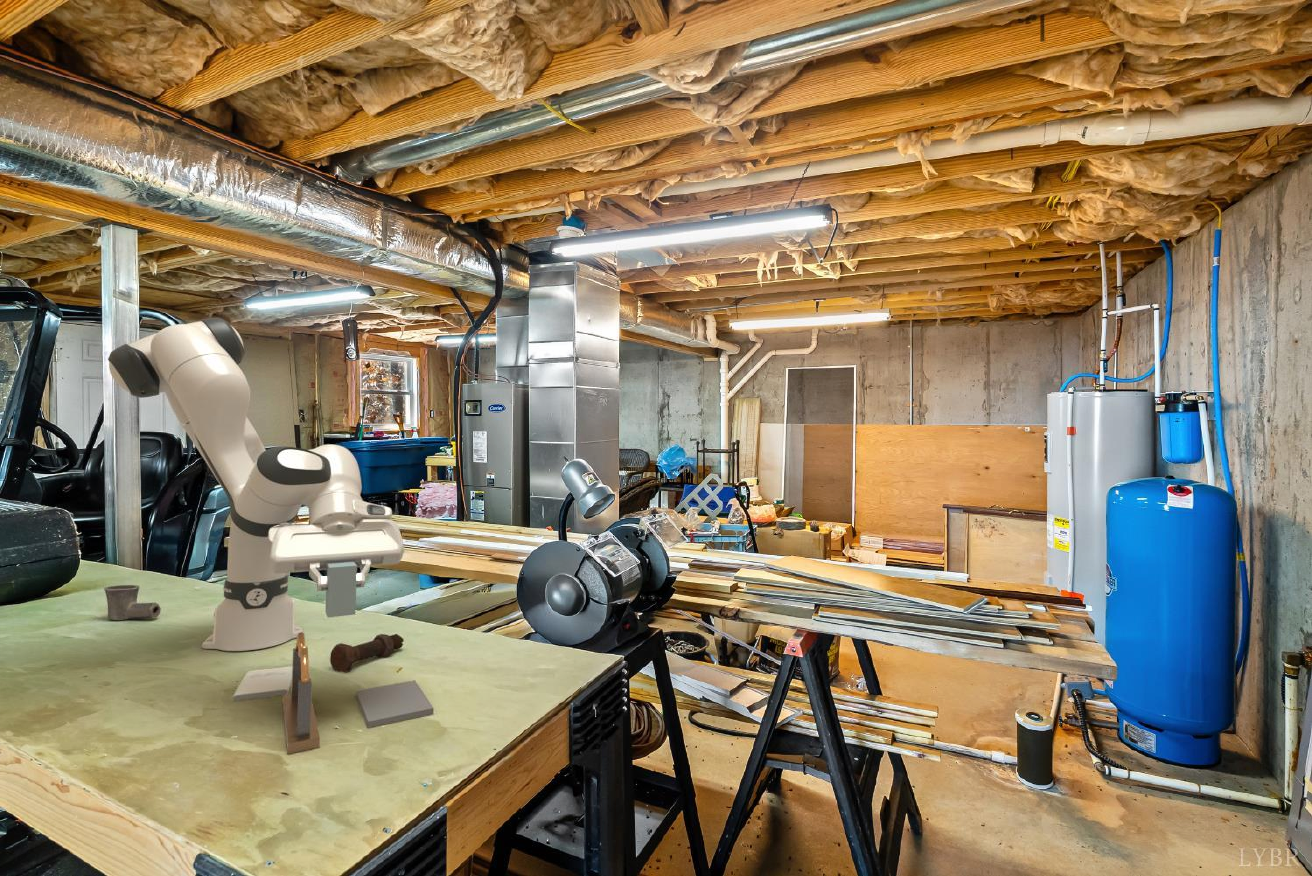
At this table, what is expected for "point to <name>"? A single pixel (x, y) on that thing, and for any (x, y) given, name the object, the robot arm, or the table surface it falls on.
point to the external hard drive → (264, 683)
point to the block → (341, 589)
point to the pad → (393, 703)
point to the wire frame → (300, 704)
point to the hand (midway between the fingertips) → (341, 587)
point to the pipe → (128, 604)
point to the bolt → (363, 651)
